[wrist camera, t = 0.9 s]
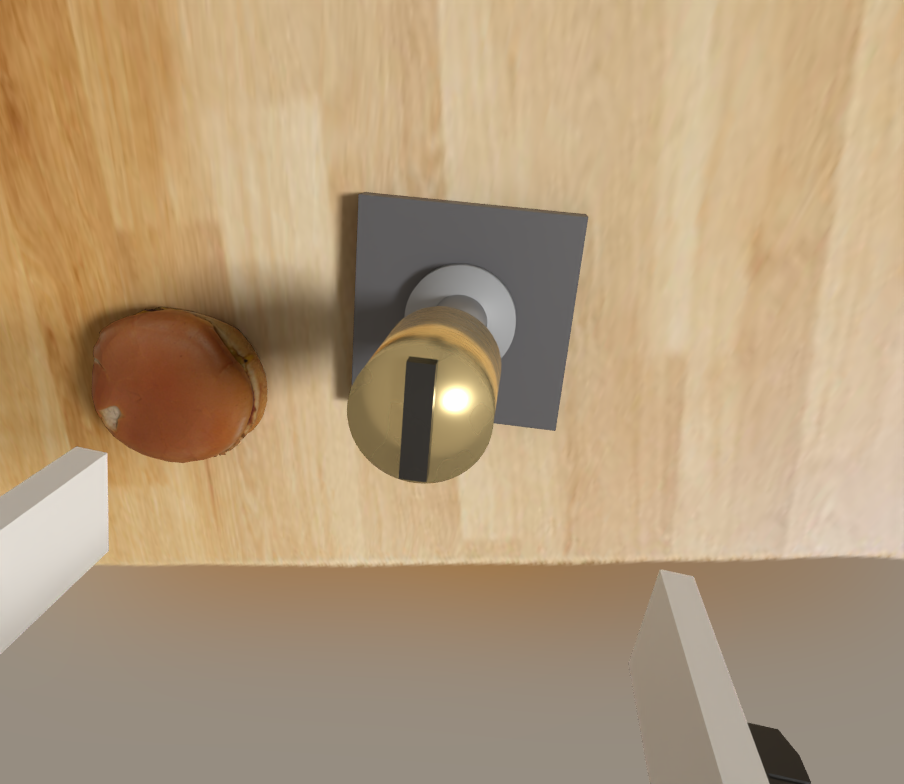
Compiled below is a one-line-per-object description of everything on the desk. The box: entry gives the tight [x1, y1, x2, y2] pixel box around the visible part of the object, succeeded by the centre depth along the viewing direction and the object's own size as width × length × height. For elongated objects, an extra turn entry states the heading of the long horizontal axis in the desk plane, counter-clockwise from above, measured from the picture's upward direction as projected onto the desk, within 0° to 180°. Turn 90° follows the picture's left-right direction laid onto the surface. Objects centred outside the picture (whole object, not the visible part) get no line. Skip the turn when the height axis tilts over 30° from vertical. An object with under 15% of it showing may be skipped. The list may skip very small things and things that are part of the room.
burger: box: [92, 307, 267, 463], centre depth 40 cm, size 10×9×5 cm
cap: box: [347, 306, 501, 483], centre depth 26 cm, size 5×5×7 cm
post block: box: [352, 192, 588, 431], centre depth 34 cm, size 12×12×10 cm
